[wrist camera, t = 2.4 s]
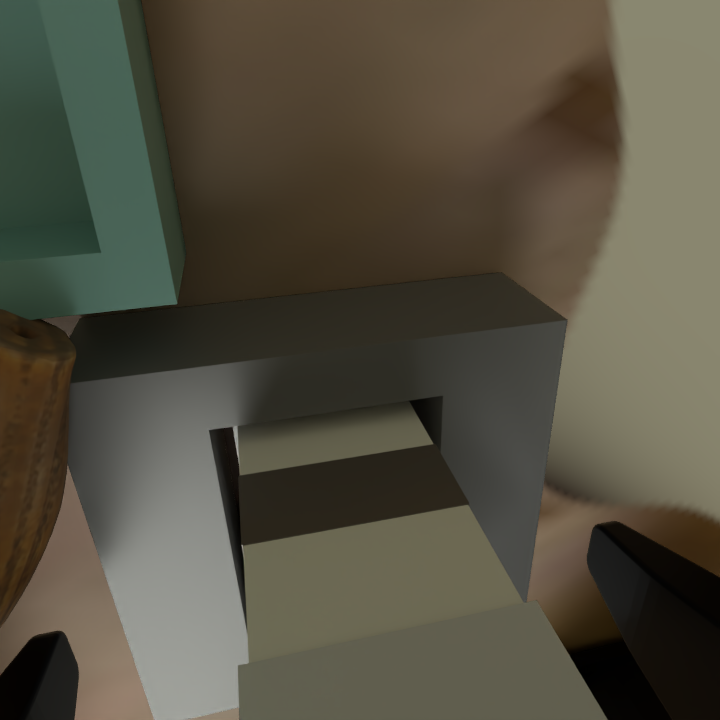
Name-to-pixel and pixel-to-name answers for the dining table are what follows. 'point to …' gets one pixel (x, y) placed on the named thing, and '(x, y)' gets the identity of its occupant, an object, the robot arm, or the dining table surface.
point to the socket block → (282, 401)
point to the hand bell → (30, 445)
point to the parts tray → (83, 163)
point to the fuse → (382, 584)
